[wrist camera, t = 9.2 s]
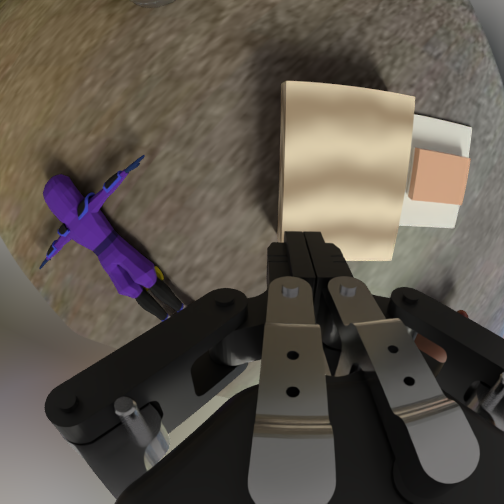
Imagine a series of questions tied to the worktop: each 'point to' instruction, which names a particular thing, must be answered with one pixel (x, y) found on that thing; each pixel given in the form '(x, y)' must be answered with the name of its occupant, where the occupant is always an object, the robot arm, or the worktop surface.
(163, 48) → the worktop surface
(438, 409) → the robot arm
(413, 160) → the tile
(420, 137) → the mat
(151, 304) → the toy
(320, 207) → the block
